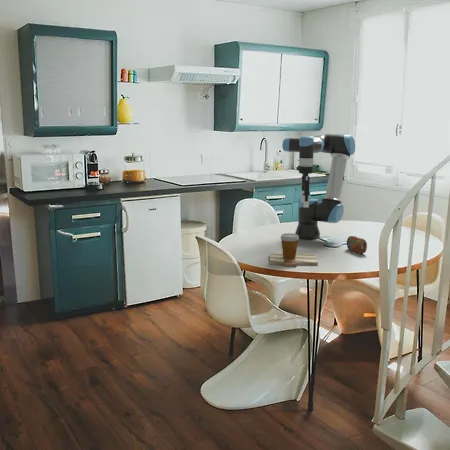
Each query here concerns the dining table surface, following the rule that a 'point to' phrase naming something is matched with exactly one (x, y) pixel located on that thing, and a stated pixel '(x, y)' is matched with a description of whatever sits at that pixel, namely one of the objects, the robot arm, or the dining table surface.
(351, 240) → the tin
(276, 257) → the board
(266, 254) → the dining table surface
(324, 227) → the dining table surface
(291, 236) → the disposable coffee cup
